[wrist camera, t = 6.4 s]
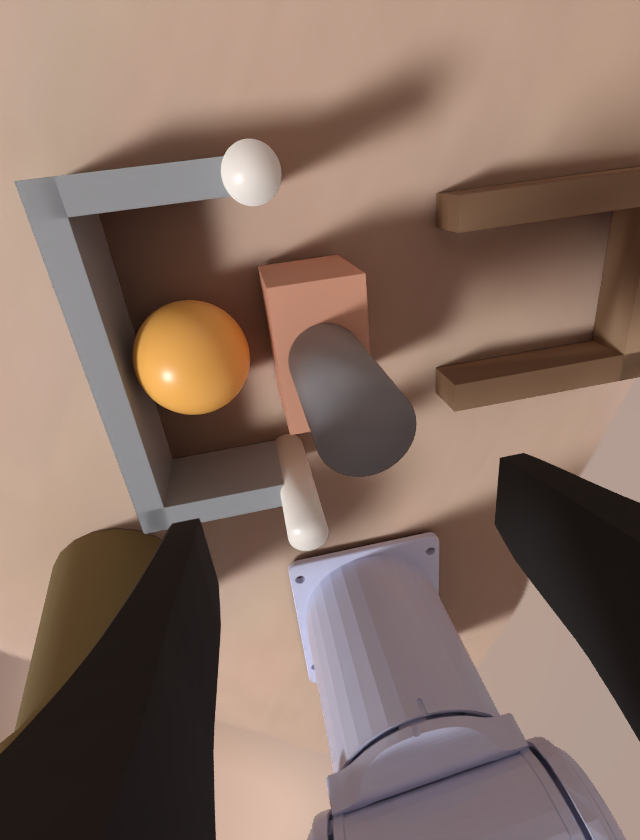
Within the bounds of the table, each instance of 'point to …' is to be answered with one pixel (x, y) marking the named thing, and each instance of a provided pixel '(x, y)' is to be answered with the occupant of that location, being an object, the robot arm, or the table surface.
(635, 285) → the rail frame
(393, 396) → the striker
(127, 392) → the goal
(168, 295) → the table surface
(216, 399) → the ball
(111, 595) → the olive green tapered cylinder
